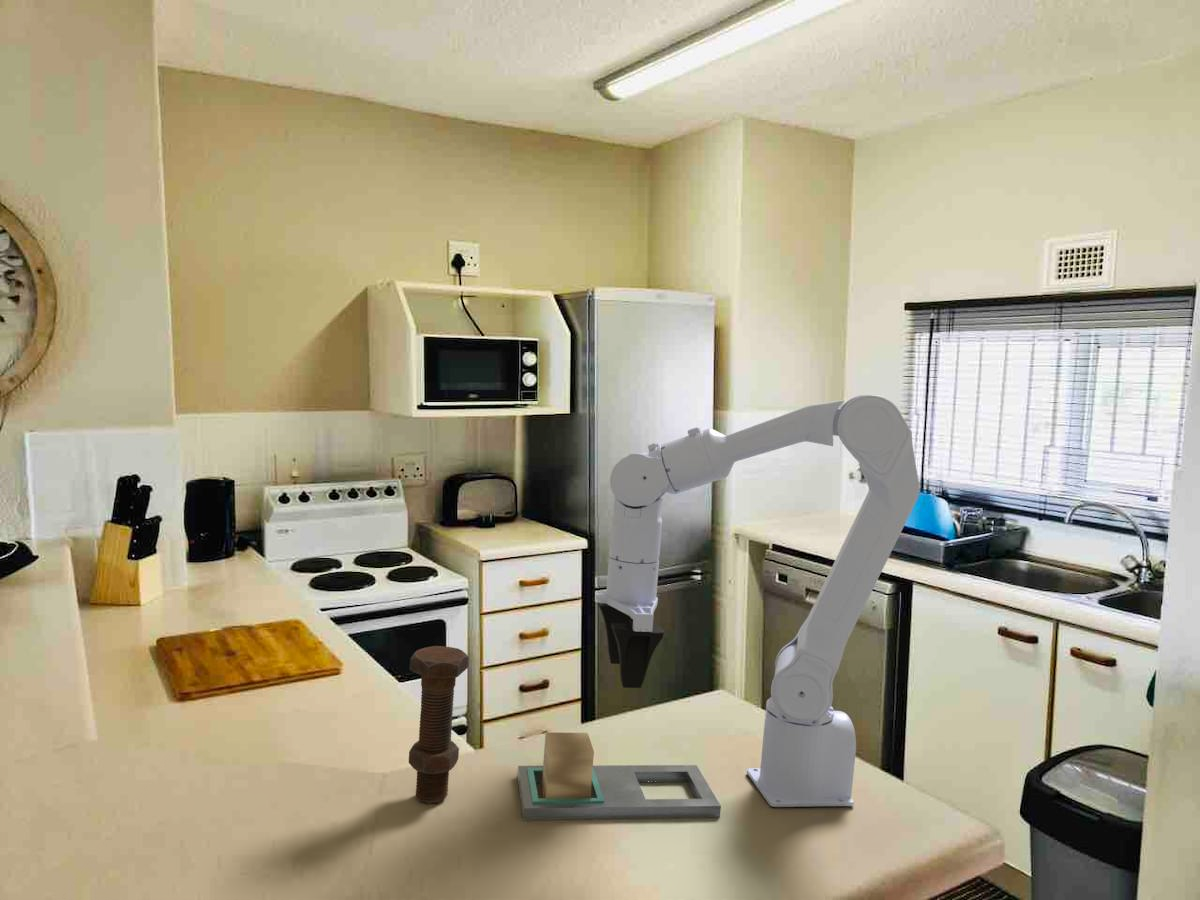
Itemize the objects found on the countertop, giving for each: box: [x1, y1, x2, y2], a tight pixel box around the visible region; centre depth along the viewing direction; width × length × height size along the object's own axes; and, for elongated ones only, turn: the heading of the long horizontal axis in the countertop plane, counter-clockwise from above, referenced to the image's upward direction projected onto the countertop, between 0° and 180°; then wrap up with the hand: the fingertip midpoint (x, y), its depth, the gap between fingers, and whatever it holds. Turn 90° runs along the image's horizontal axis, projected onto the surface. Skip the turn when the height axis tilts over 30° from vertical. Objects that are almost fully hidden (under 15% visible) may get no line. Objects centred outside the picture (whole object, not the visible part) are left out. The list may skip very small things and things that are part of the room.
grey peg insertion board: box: [517, 764, 722, 821], centre depth 88 cm, size 20×9×1 cm, turn 99°
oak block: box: [541, 732, 595, 798], centre depth 87 cm, size 4×4×6 cm
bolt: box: [408, 645, 470, 804], centre depth 85 cm, size 6×5×15 cm
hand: (625, 674), depth 97 cm, fingers open, 7 cm apart
